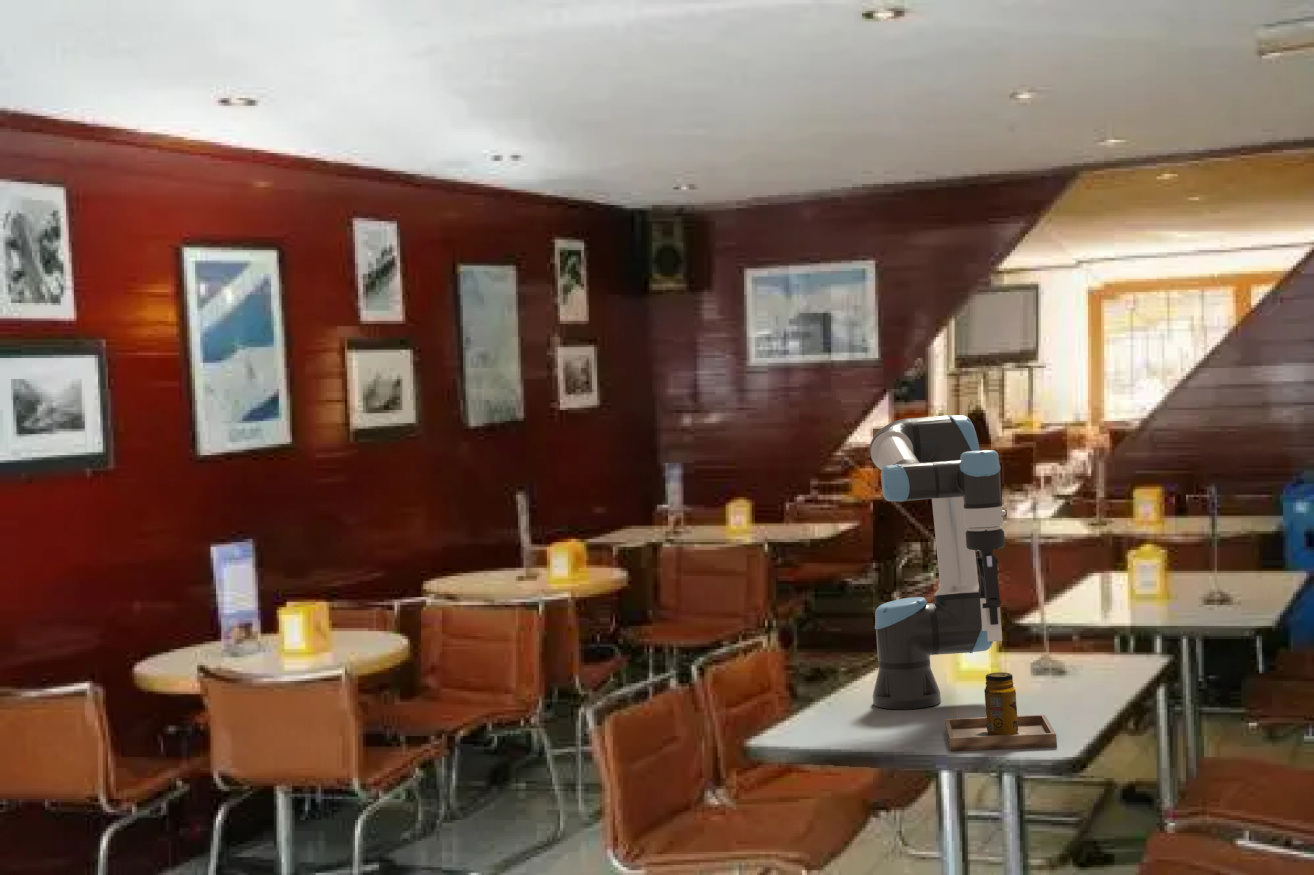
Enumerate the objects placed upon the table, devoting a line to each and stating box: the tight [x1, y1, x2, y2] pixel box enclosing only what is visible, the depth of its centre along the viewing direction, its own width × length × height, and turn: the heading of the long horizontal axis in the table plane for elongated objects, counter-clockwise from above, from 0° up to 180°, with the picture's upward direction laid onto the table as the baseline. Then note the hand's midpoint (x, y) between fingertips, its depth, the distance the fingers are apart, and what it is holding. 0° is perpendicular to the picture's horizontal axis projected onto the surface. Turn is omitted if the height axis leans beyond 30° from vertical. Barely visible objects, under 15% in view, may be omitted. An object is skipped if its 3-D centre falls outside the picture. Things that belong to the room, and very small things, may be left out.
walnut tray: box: [944, 714, 1058, 752], centre depth 295 cm, size 20×18×2 cm
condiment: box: [972, 671, 1027, 736], centre depth 294 cm, size 7×8×12 cm
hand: (992, 635), depth 295 cm, fingers open, 13 cm apart
